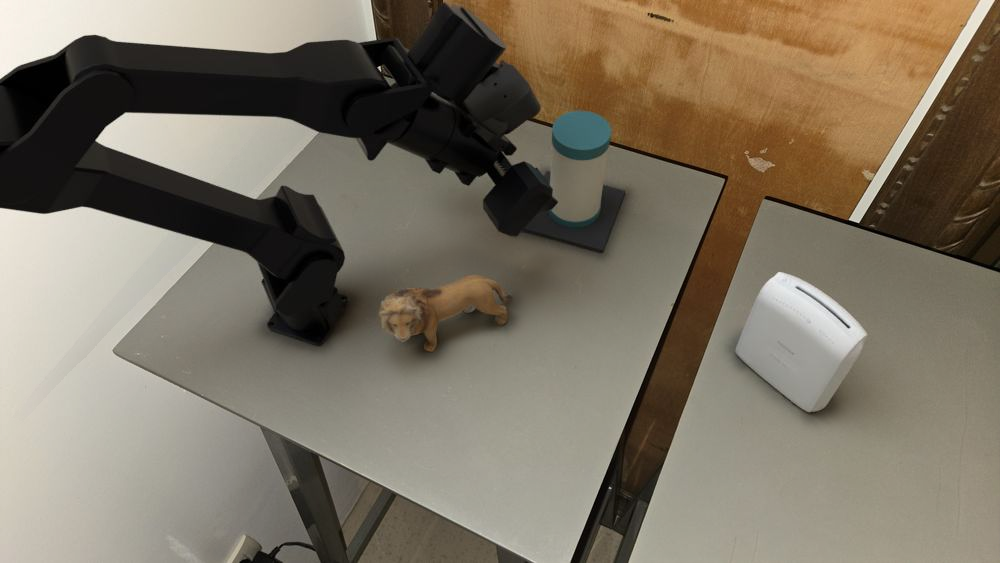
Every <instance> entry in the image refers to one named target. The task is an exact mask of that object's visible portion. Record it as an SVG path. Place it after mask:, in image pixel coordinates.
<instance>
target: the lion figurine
mask: <svg viewBox="0 0 1000 563" xmlns="http://www.w3.org/2000/svg"><path fill="white" fill-rule="evenodd" d="M494 291H495V292H494ZM495 294H496V295H497V296H498V298H499V299H500V301H501V302H502V303H510V302H511V300H512V299H513V296H512V294H507V295H505V293H504V291H503V289H502V287H501V286H500V285H499V283H497V282H496V281H495V280H493V279H489V278H487V277H486V276H484V275H480V274H470V275H466V276H464V277H462V278H460V279H458V280H456V281H455V282H452V283H449V284H446V285H442V286H438V287H435V288H432V289H431V288H428V287H425V288H424V287H415V286H414V287H412V288H411V287H405V288H404V289H399V290H397V291H392V292H391V293H390V294H388V295H387V296H386V297H385V299H384V300H382V301H381V302H380V303H381V304H380V308H379V313H378V316H379V317H380V320H381V321H380V325H381V328H382V331H384V332H385V333H387V334H390V335H391V336H395V339H397V340H399V341H400V342H407V340H409V339H410V338H411V337H412V336H417V335H419V334H421V333H423V334H424V336H425V337H426V341H425V342H424V343H423V347H424V348H423V349H424V350H425V351H427V352H430V353H431V352H432V353H433V352H434V351H435V350H436V348H437V346H438V340H437V339H438V338H437V329H438V328H439V322H440V321H444V320H447V319H450V318H453V317H455V316H457V315H459V314H461V313H462V312H464V313H466V314H468V313H473V312H474V311H475V310H478V311H479V312H482V313H483V314H487V315H494V316H495V315H496V316H495V319H494V322H495V323H497V325H500V326H502V325H505V324H506V323H507V322H508V319H509V318H508V317H509V315H508V312H507V307H506V306H505V305H501V304H499V303H498V302H497V300H496V297H495Z"/></svg>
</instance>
